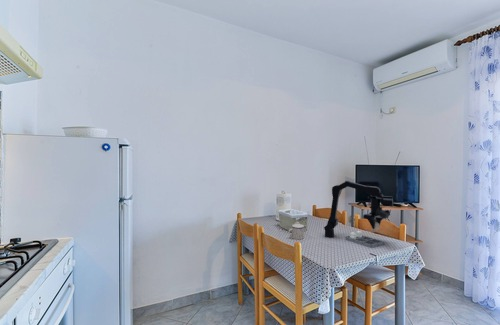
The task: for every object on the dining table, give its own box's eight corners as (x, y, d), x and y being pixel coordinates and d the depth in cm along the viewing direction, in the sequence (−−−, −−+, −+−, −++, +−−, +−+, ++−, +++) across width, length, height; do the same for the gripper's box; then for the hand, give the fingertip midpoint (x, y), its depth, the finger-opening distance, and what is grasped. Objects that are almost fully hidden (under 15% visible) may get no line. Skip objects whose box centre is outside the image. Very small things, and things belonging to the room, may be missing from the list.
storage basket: (277, 226, 215) (277, 209, 215) (293, 224, 221) (293, 208, 221) (291, 233, 193) (291, 215, 193) (308, 231, 199) (308, 213, 199)
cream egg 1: (353, 241, 170) (353, 233, 170) (348, 239, 174) (348, 231, 174) (357, 240, 172) (357, 232, 172) (352, 238, 176) (352, 230, 176)
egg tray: (371, 249, 157) (371, 244, 157) (345, 240, 174) (345, 236, 174) (383, 245, 163) (383, 241, 163) (357, 237, 181) (357, 233, 181)
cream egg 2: (359, 239, 173) (359, 231, 173) (354, 238, 177) (354, 230, 177) (363, 238, 175) (363, 231, 175) (358, 237, 179) (358, 229, 179)
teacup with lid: (300, 235, 187) (300, 220, 187) (306, 239, 179) (306, 223, 179) (286, 237, 184) (286, 221, 184) (291, 240, 175) (291, 224, 175)
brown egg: (376, 231, 162) (376, 222, 162) (370, 229, 166) (370, 221, 166) (380, 230, 164) (380, 222, 164) (374, 228, 168) (374, 220, 168)
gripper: (378, 208, 153) (378, 233, 153) (395, 205, 162) (395, 229, 162) (362, 206, 163) (362, 229, 163) (379, 203, 172) (379, 225, 172)
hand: (375, 228), depth 165 cm, fingers closed on brown egg, 4 cm apart
